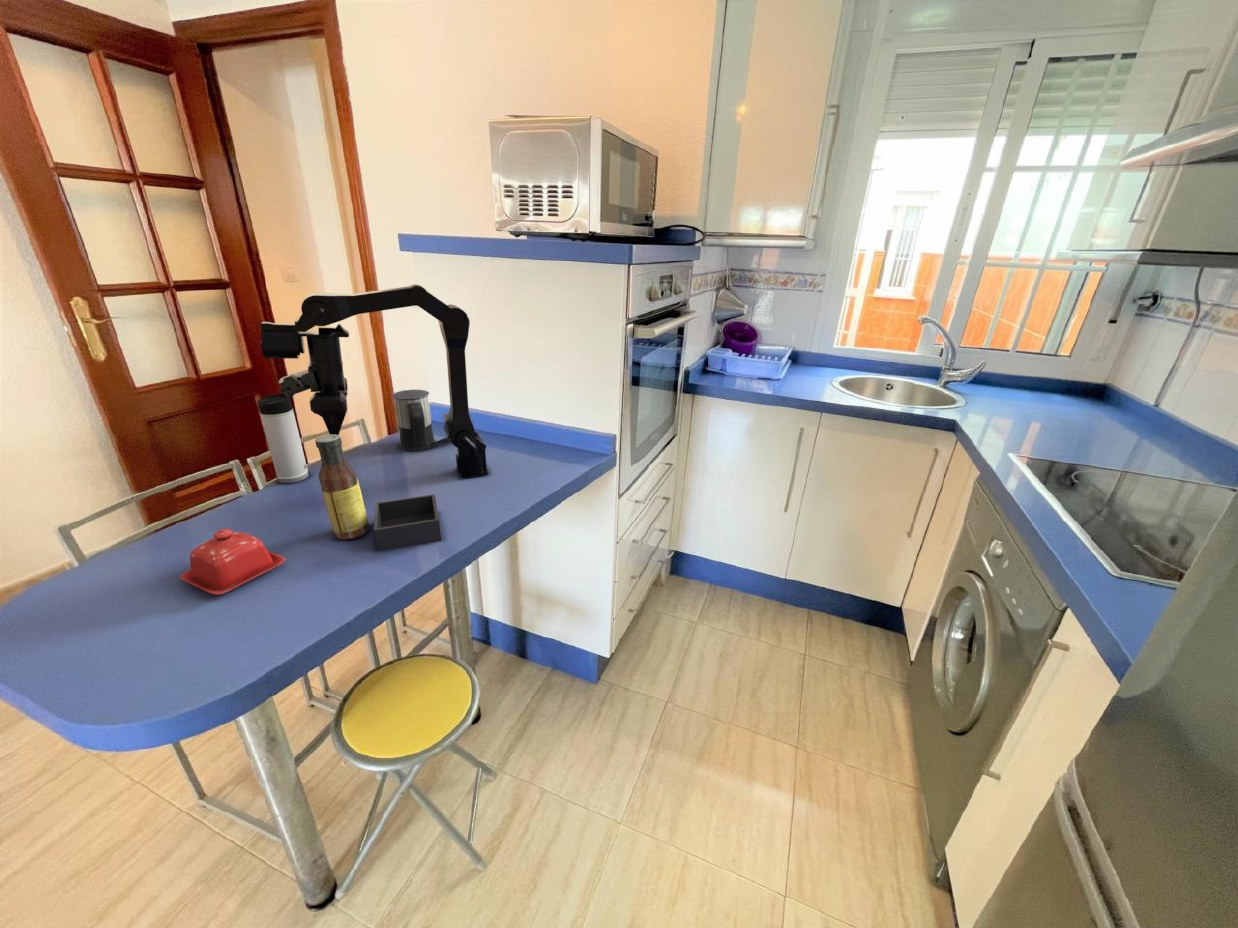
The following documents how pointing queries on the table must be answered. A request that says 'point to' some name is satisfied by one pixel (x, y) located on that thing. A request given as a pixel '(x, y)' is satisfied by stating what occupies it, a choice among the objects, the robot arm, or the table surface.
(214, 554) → the butter dish
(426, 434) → the milk frother
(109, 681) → the table surface
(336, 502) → the sauce bottle
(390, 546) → the bin
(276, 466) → the travel mug
